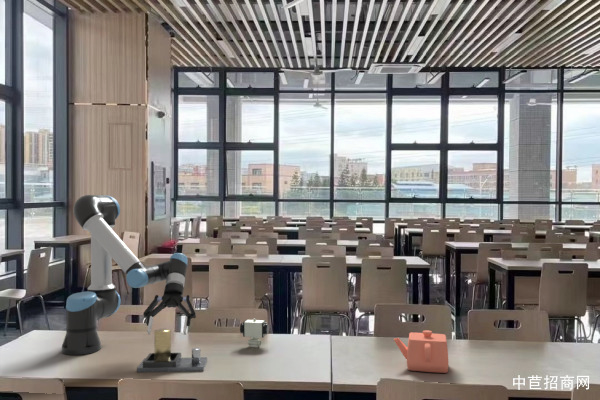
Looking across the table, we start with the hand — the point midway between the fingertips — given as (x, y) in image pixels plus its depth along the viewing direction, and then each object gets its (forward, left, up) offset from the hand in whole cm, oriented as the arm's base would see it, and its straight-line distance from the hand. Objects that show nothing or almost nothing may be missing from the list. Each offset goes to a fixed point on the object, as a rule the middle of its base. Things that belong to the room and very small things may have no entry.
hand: (166, 333), depth 205 cm
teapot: (+96, -10, -12) cm, 97 cm away
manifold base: (+3, -4, -12) cm, 13 cm away
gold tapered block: (-1, -4, -10) cm, 11 cm away
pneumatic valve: (+33, +22, -12) cm, 42 cm away
